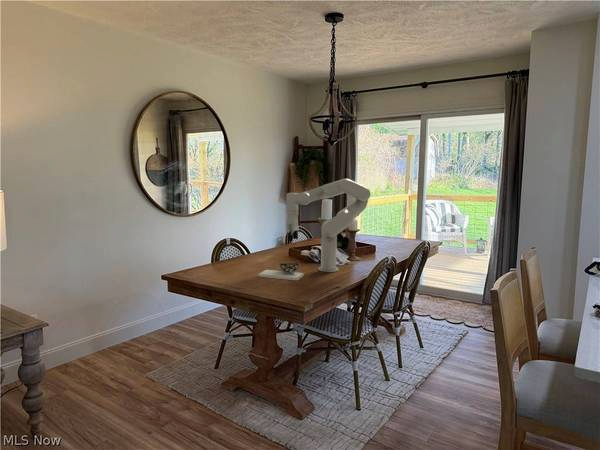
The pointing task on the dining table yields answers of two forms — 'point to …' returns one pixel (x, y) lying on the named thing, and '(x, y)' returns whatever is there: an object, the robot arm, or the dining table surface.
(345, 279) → the dining table surface
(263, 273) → the cutting board
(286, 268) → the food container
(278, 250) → the dining table surface
